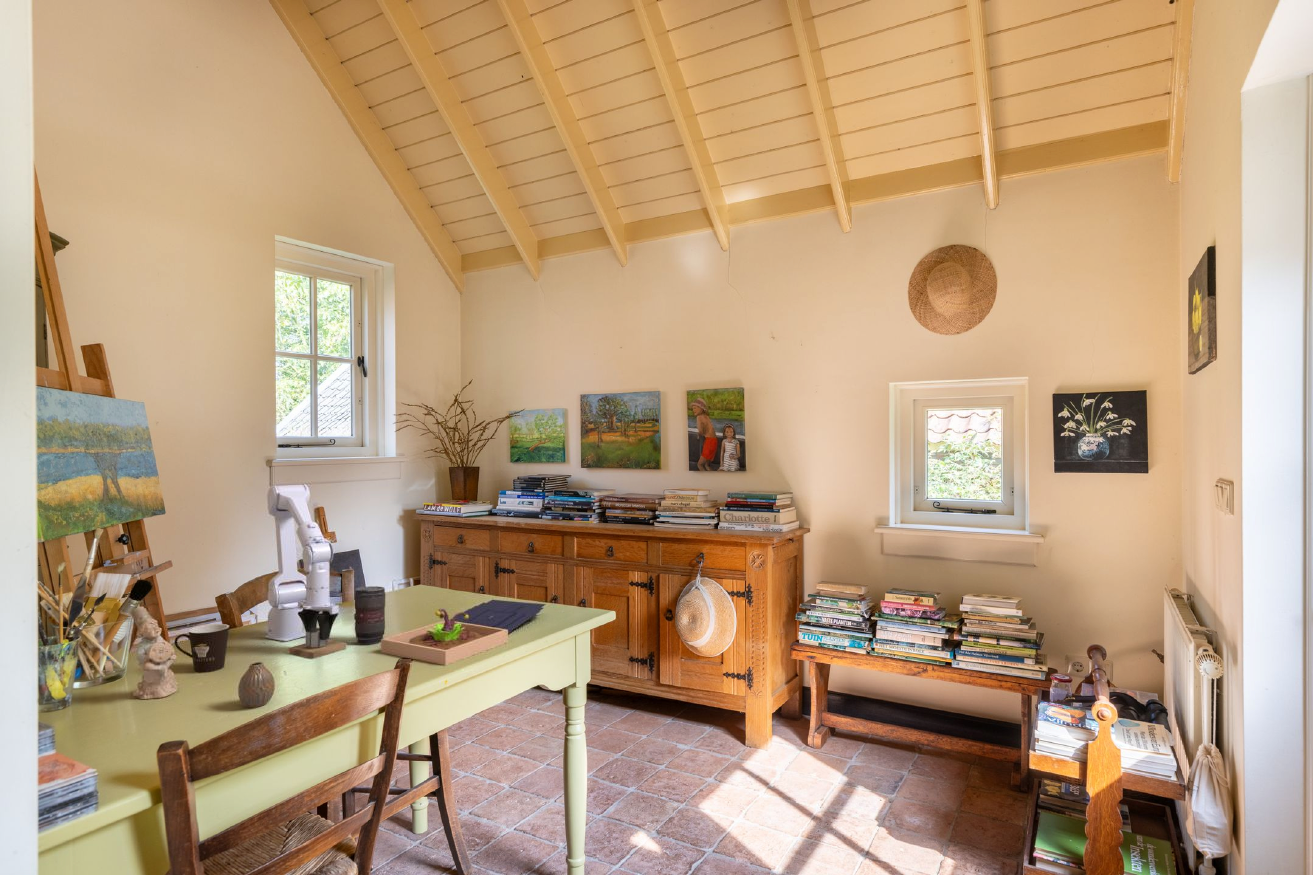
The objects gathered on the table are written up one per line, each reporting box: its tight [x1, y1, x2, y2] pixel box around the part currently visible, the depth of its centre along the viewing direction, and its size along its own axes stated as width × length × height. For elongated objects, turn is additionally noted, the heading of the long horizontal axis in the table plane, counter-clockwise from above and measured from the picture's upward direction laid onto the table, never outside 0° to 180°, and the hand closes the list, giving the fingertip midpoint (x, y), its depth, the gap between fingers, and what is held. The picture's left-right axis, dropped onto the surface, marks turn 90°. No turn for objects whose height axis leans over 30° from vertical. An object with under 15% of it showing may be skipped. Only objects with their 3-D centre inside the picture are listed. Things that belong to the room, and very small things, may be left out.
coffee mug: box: [174, 623, 230, 674], centre depth 181 cm, size 12×9×10 cm
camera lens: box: [353, 585, 386, 645], centre depth 204 cm, size 8×8×15 cm
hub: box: [304, 627, 329, 648], centre depth 195 cm, size 5×5×4 cm
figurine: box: [130, 606, 179, 700], centre depth 162 cm, size 9×8×20 cm
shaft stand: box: [288, 630, 347, 659], centre depth 195 cm, size 10×10×6 cm
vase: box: [237, 661, 276, 709], centre depth 155 cm, size 7×7×9 cm
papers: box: [449, 599, 546, 634], centre depth 224 cm, size 24×30×4 cm
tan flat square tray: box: [380, 620, 509, 666], centre depth 198 cm, size 24×24×4 cm
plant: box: [409, 608, 484, 650], centre depth 198 cm, size 20×20×11 cm
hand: (317, 637), depth 195 cm, fingers closed on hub, 5 cm apart
